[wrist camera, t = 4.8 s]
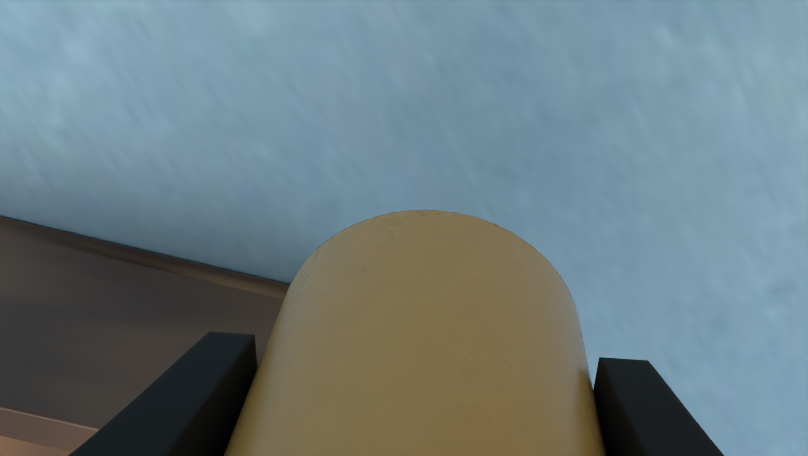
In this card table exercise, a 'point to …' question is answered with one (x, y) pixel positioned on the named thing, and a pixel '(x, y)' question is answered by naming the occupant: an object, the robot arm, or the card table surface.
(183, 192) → the card table surface
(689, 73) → the card table surface
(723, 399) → the card table surface
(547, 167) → the card table surface
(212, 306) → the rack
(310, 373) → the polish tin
